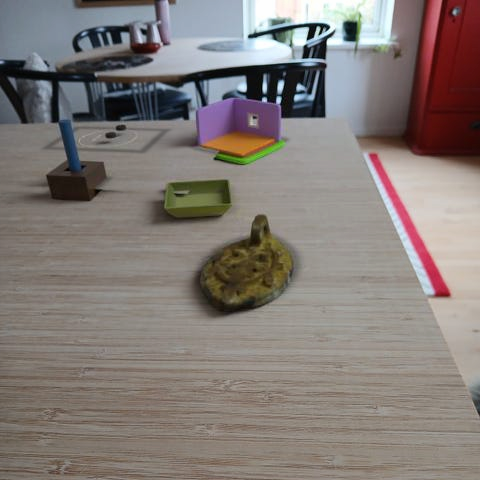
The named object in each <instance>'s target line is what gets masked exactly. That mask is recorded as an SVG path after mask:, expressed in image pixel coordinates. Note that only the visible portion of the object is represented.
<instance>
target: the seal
mask: <svg viewBox="0 0 480 480" xmlns="http://www.w3.org/2000/svg"><path fill="white" fill-rule="evenodd" d="M269 224H270V223H269V219H268V216H267V215H266V214H264V213H261V214H257V215H255V216H254V219H253V221H252V223H251V227H250V234H249V237H247V238H243V239H241V240H239V241H235V242H232V243H230V244H228V245H226V246H224V247H223V248H220V249H219V250H218V251H216V252H215V254H213V255H212V256H211V257H210V258H209V259H208V260H207V261H206V263H205V265H204V267H203V268H202V270H201V272H200V280H199V283H200V287H201V289H202V291H203V293H204V295H205V296H206V299H207V300H208V302H210V303H211V304H212V305H213V306H214V307H215V308H217V309H219V310H221V311H224V312H231V311H234V310H235V309H243V308H245V307H250V308H254V309H255V308H257V307H260V306H264V305H265V304H267V303H270V302H272V301H274V300H275V299H277V298H278V297H279V296H281V295H282V294H284V292H285V290H286V289H287V288H288V286H289V285H290V281H291V279H292V276H293V273H294V260H293V257H292V254H291V251H290V250H289V249H288V248H287V247H286V245H285V244H284V243H282V242H281V241H280V240H278V239H277V238H276V237H274V236H273V234H272V233H271V229H270V225H269Z"/></svg>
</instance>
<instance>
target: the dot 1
mask: <svg viewBox="0 0 480 480" xmlns="http://www.w3.org/2000/svg"><path fill="white" fill-rule="evenodd" d="M104 136H105V139H109V140H110V139H115V138H117V133H116V132H115V131H109V132H108V131H107V132H106V133H105V134H104Z"/></svg>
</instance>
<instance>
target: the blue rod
mask: <svg viewBox="0 0 480 480" xmlns="http://www.w3.org/2000/svg"><path fill="white" fill-rule="evenodd" d="M57 124H58V127H59V132H60V135H61V140H62V144H63V147H64V152H65V156H66V160H67V161H68V165H69V169H70V171H73V172H79V171H81V170H82V169H81V165H80V161H81V160H80V157H79V152H78V148H77V143H76V140H75V139H76V138H75V135H74V130H73V126H72V122H71V120H70V119H60V120H58V121H57Z"/></svg>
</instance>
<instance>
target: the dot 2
mask: <svg viewBox="0 0 480 480" xmlns="http://www.w3.org/2000/svg"><path fill="white" fill-rule="evenodd" d="M115 129H116V130H115V131H117V132H123V131H124V130H127V126H126V125H125V124H117V125H115Z"/></svg>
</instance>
